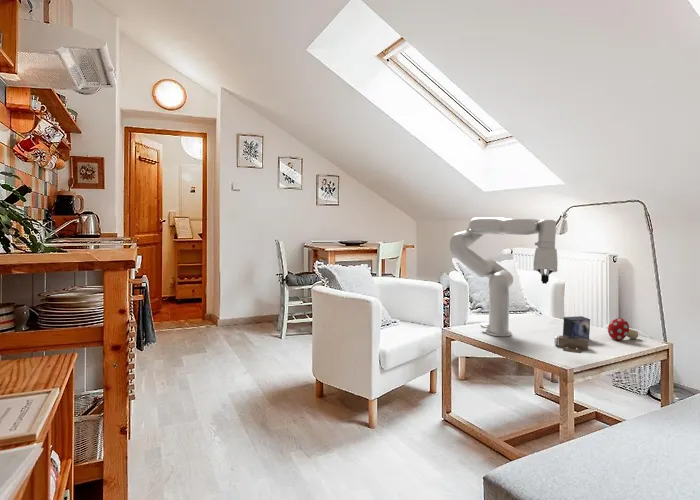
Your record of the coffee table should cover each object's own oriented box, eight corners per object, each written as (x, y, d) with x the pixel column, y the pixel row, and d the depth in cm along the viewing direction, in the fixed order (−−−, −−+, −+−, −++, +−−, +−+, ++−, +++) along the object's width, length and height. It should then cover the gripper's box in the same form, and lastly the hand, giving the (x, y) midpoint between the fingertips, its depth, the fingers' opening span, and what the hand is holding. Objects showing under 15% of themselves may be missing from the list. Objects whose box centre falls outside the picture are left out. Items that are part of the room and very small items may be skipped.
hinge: (556, 349, 204) (557, 340, 204) (560, 341, 217) (560, 332, 217) (586, 353, 198) (587, 343, 198) (588, 345, 211) (589, 336, 210)
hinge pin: (554, 345, 210) (554, 337, 209) (555, 343, 213) (555, 335, 213) (587, 350, 203) (587, 341, 202) (587, 347, 206) (588, 339, 206)
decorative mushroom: (639, 320, 224) (614, 310, 221) (650, 337, 215) (624, 327, 212) (623, 334, 230) (599, 325, 227) (633, 351, 221) (608, 342, 218)
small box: (570, 341, 218) (571, 319, 217) (562, 337, 224) (562, 316, 223) (590, 340, 220) (590, 318, 219) (580, 336, 226) (581, 315, 226)
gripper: (528, 245, 218) (526, 282, 220) (562, 246, 210) (560, 285, 212) (531, 244, 225) (530, 280, 226) (564, 245, 216) (562, 283, 218)
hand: (544, 283), depth 219 cm, fingers closed
